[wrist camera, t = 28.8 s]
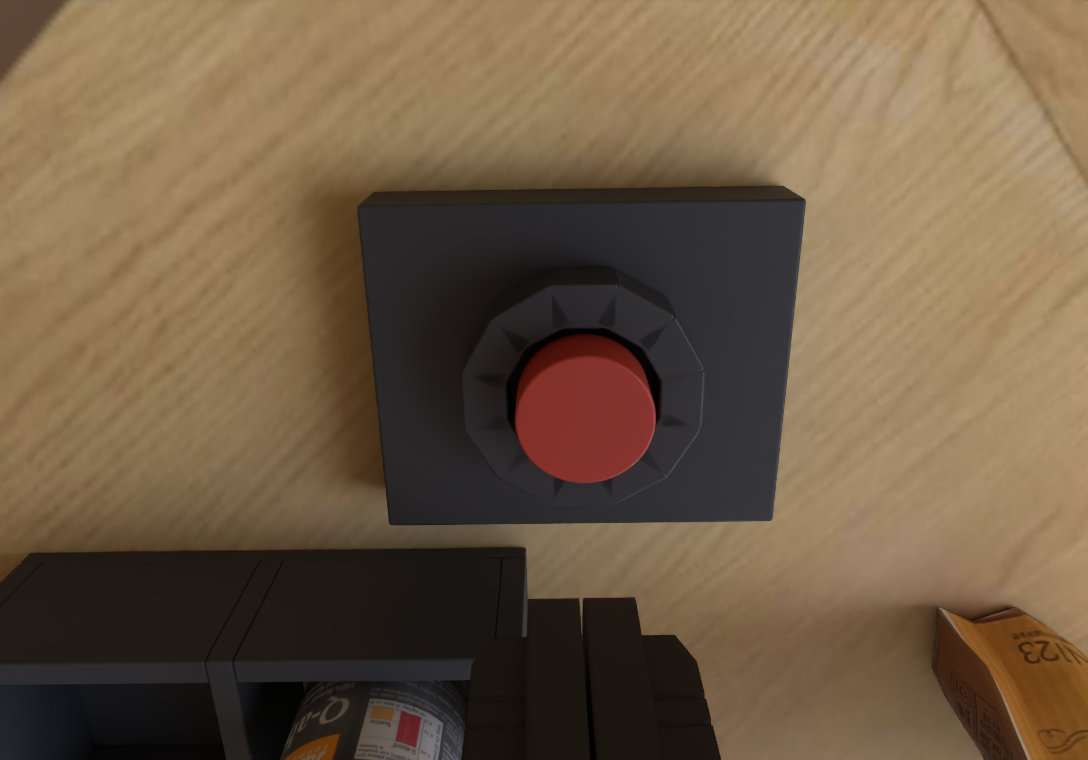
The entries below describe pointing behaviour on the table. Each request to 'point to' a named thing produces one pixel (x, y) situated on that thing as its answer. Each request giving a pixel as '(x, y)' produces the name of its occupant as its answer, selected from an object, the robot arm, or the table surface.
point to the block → (580, 308)
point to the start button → (584, 409)
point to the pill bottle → (379, 721)
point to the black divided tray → (230, 642)
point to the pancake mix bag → (1014, 686)
